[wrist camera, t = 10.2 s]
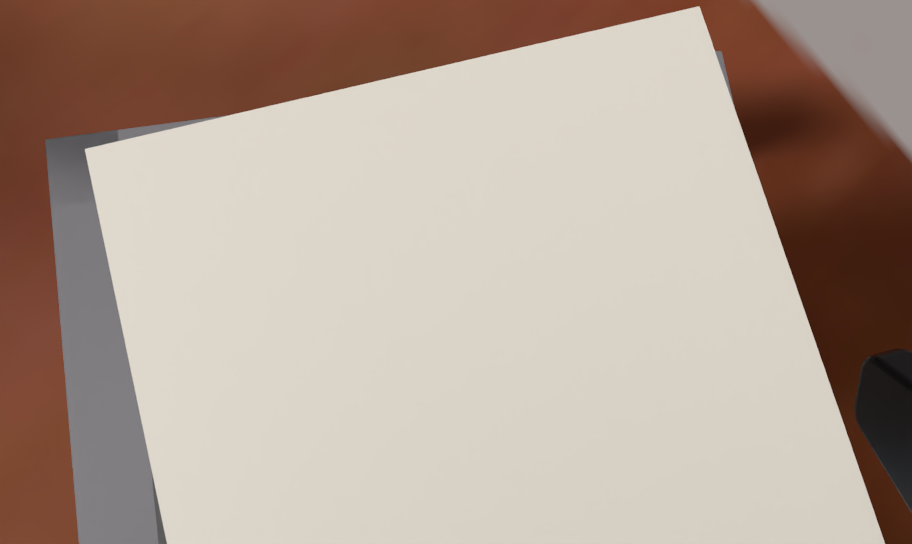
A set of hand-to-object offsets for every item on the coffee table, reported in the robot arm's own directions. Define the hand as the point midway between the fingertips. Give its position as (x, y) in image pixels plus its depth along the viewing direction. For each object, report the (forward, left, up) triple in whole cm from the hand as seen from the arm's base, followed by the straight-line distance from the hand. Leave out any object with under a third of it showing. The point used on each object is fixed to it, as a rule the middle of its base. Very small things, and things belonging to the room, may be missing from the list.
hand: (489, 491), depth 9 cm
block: (+1, 0, -8) cm, 8 cm away
